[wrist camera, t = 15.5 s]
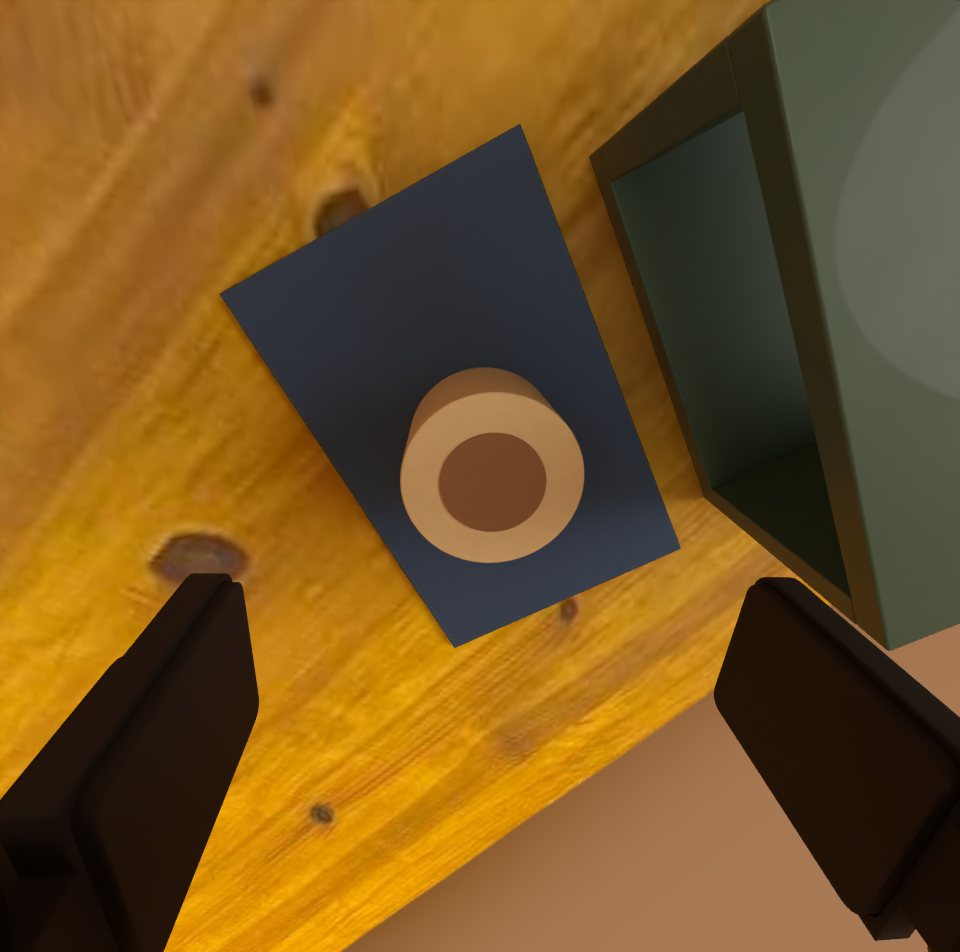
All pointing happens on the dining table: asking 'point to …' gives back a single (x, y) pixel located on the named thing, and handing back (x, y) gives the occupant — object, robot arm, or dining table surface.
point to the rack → (814, 291)
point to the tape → (490, 467)
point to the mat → (450, 349)
